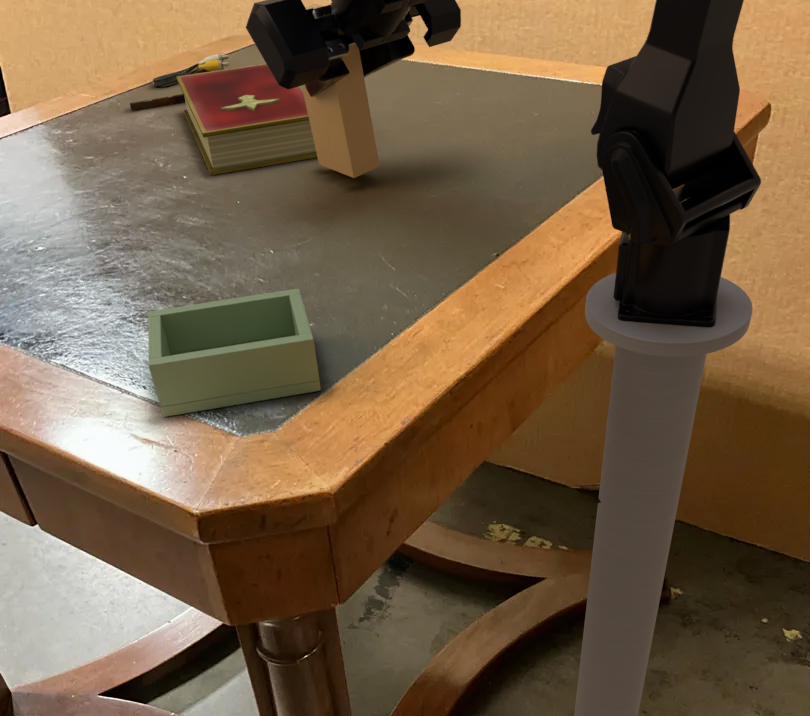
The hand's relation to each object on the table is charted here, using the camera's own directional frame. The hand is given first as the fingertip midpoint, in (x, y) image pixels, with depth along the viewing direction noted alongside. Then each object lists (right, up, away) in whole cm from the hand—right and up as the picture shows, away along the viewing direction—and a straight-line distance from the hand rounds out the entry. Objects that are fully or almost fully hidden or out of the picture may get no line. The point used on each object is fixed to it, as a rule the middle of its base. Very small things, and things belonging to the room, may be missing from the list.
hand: (325, 87), depth 81 cm
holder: (-4, -30, -21) cm, 37 cm away
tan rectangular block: (+2, -6, +4) cm, 7 cm away
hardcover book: (-9, +3, +16) cm, 18 cm away
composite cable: (-20, +17, +33) cm, 42 cm away
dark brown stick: (-18, +11, +26) cm, 33 cm away
